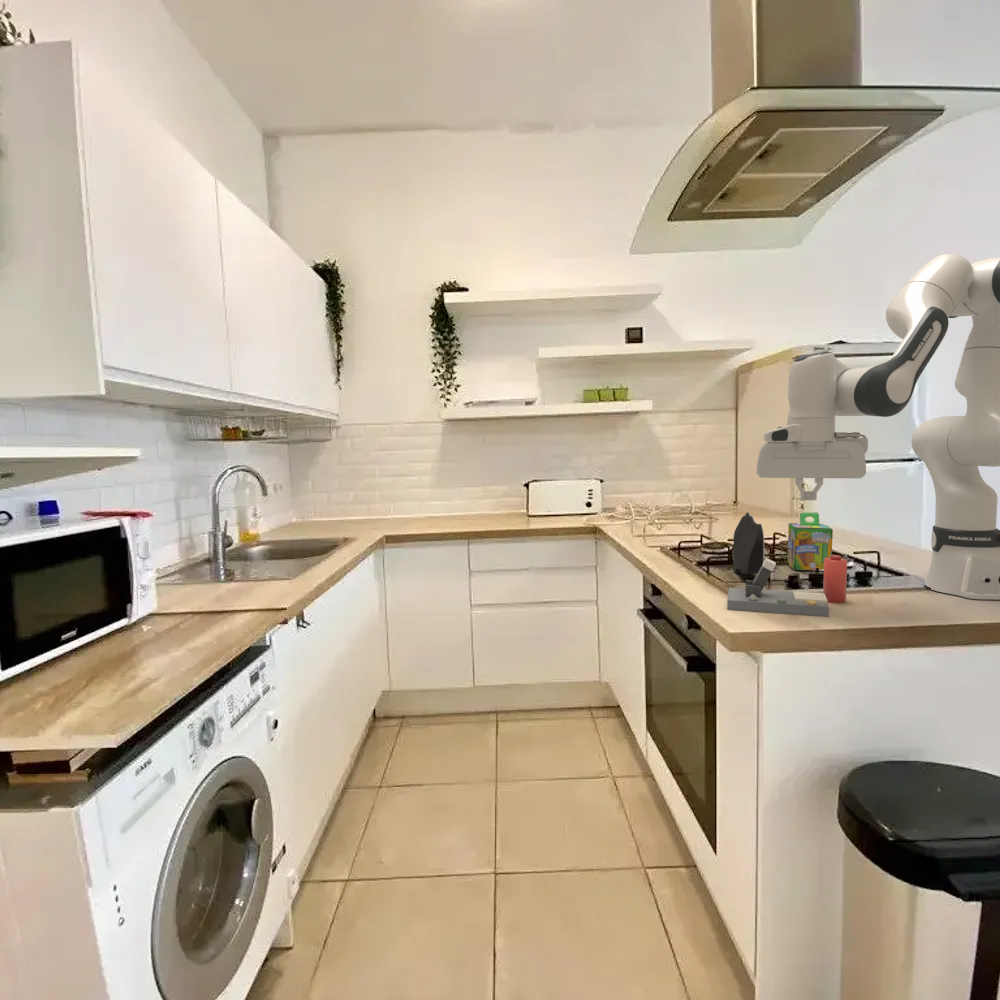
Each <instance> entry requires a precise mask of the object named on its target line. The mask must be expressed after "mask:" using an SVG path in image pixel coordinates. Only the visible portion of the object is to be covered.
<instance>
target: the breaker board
mask: <svg viewBox="0 0 1000 1000" xmlns="http://www.w3.org/2000/svg"><path fill="white" fill-rule="evenodd" d="M753 581H754V579H753V580H749V579H745V588H740V587H739V588H737V587H729V588H728V593H727V600H726V601H727V603H726V605H727V607H726V608H727V610H728V611H729V610H730V611H743V612H759V613H760V612H761V613H774V614H785V615H787V614H788V615H802V616H812V617H813V616H817V617H830V615H829V612H830V607H829V604H828V603H829V602H828V601H827V598H826V596H825V594H824V593H823V592H807V591H792V590H791V591H789V590H775V589H774V590H773V589H772V590H771V589H762V591H761V586H758V585H752V583H753Z"/></svg>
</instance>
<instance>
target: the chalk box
mask: <svg viewBox="0 0 1000 1000" xmlns="http://www.w3.org/2000/svg"><path fill="white" fill-rule="evenodd" d="M809 517H811V518H813V521H807V520H806V519H807V518H809ZM833 532H834V529H833V528H831V527H830V526H828V525H826V524H824V523H820V515H819V513H818V512H801V513H799V522H798V523H797V522H794V523H788V532H787V533H788V535H787V536H788V537H787V564H788V563H789V565H788V566H789V567H790V568H792V569H793V571H795V570H815V569H816V568H819V569H824V558H830V555H833V539H834V537H833V535H834V533H833Z"/></svg>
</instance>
